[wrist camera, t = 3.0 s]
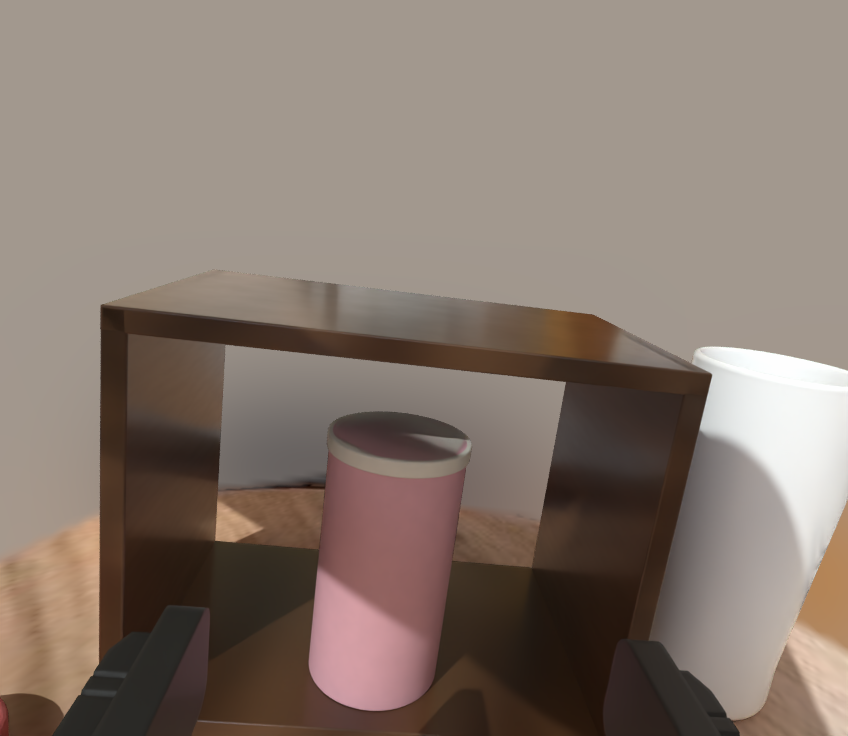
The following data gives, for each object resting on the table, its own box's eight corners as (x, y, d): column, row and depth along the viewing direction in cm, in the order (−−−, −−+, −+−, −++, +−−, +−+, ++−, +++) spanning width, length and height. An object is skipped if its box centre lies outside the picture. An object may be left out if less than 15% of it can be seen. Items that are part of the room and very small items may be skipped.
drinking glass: (594, 638, 31) (658, 341, 27) (708, 628, 33) (781, 350, 29) (685, 752, 24) (783, 384, 21) (818, 732, 26) (929, 393, 23)
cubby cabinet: (97, 738, 22) (99, 304, 18) (199, 555, 33) (212, 269, 30) (618, 769, 23) (713, 373, 20) (542, 584, 35) (593, 314, 31)
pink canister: (296, 709, 23) (320, 454, 21) (314, 616, 28) (334, 405, 26) (442, 718, 23) (481, 469, 21) (433, 626, 29) (463, 418, 26)
